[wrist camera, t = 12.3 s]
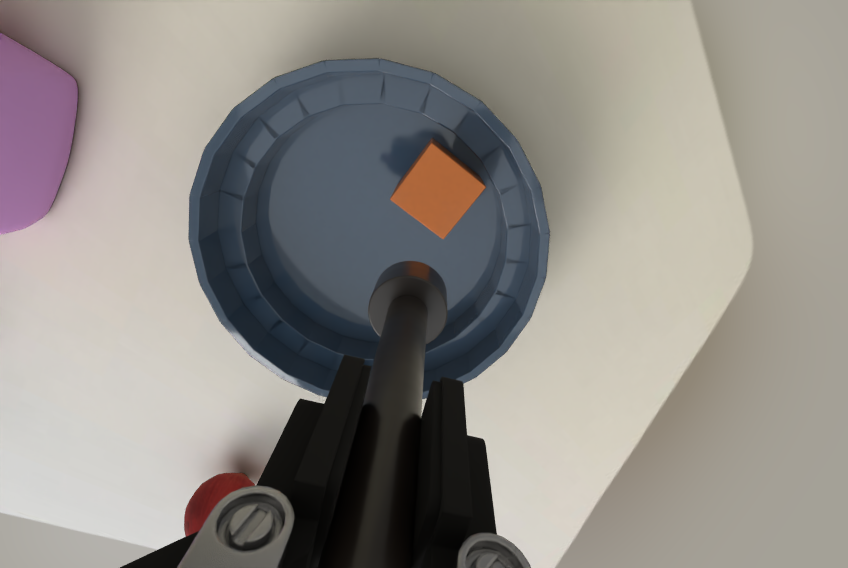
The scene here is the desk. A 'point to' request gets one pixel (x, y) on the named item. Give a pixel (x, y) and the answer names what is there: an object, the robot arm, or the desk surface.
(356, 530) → the dark grey bolt
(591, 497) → the desk surface
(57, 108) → the teapot
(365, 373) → the robot arm
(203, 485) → the onion
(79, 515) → the desk surface
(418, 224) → the bowl
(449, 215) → the block
